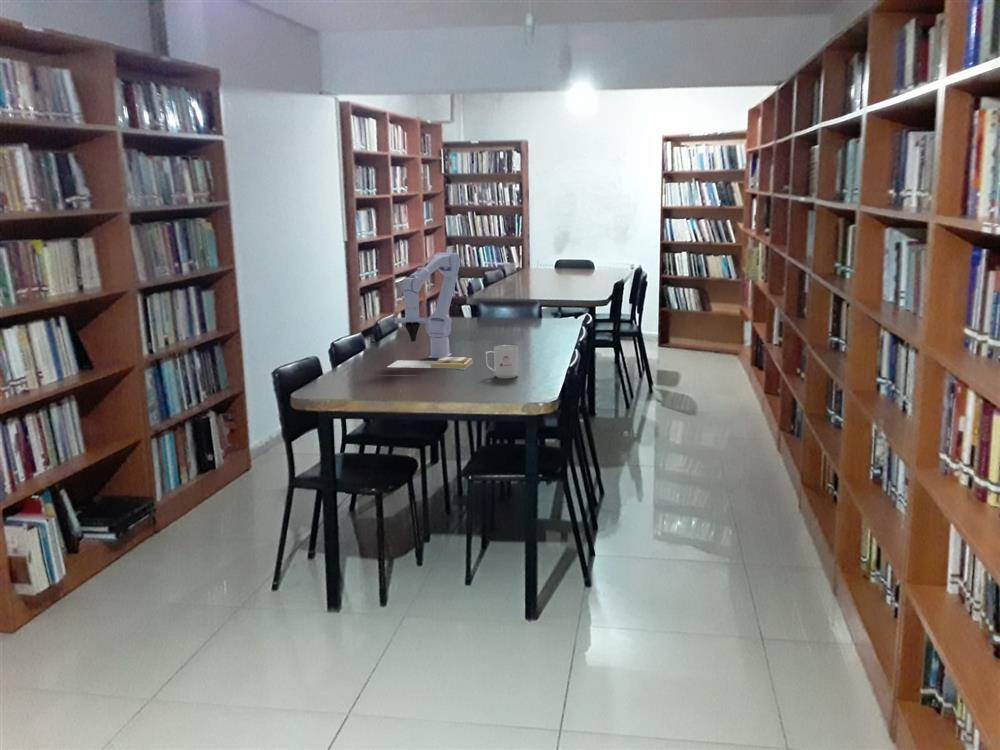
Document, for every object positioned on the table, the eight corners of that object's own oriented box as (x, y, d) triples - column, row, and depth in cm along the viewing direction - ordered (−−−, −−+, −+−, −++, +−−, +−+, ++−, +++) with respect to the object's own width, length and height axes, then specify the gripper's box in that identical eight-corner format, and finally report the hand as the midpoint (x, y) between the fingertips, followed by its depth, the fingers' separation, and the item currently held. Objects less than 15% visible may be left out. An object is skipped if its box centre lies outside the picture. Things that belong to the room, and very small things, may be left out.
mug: (517, 373, 333) (516, 344, 331) (519, 378, 324) (518, 348, 322) (485, 374, 332) (484, 345, 330) (486, 379, 324) (485, 350, 321)
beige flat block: (437, 366, 348) (437, 360, 347) (442, 362, 355) (442, 356, 354) (462, 366, 346) (461, 360, 345) (466, 363, 353) (466, 357, 352)
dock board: (397, 361, 362) (397, 356, 361) (473, 362, 356) (472, 357, 355) (386, 368, 348) (386, 363, 348) (464, 369, 342) (464, 364, 342)
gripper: (391, 308, 349) (393, 342, 352) (427, 308, 346) (428, 342, 349) (396, 306, 356) (398, 339, 358) (431, 306, 353) (432, 339, 356)
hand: (413, 341), depth 354 cm, fingers closed
